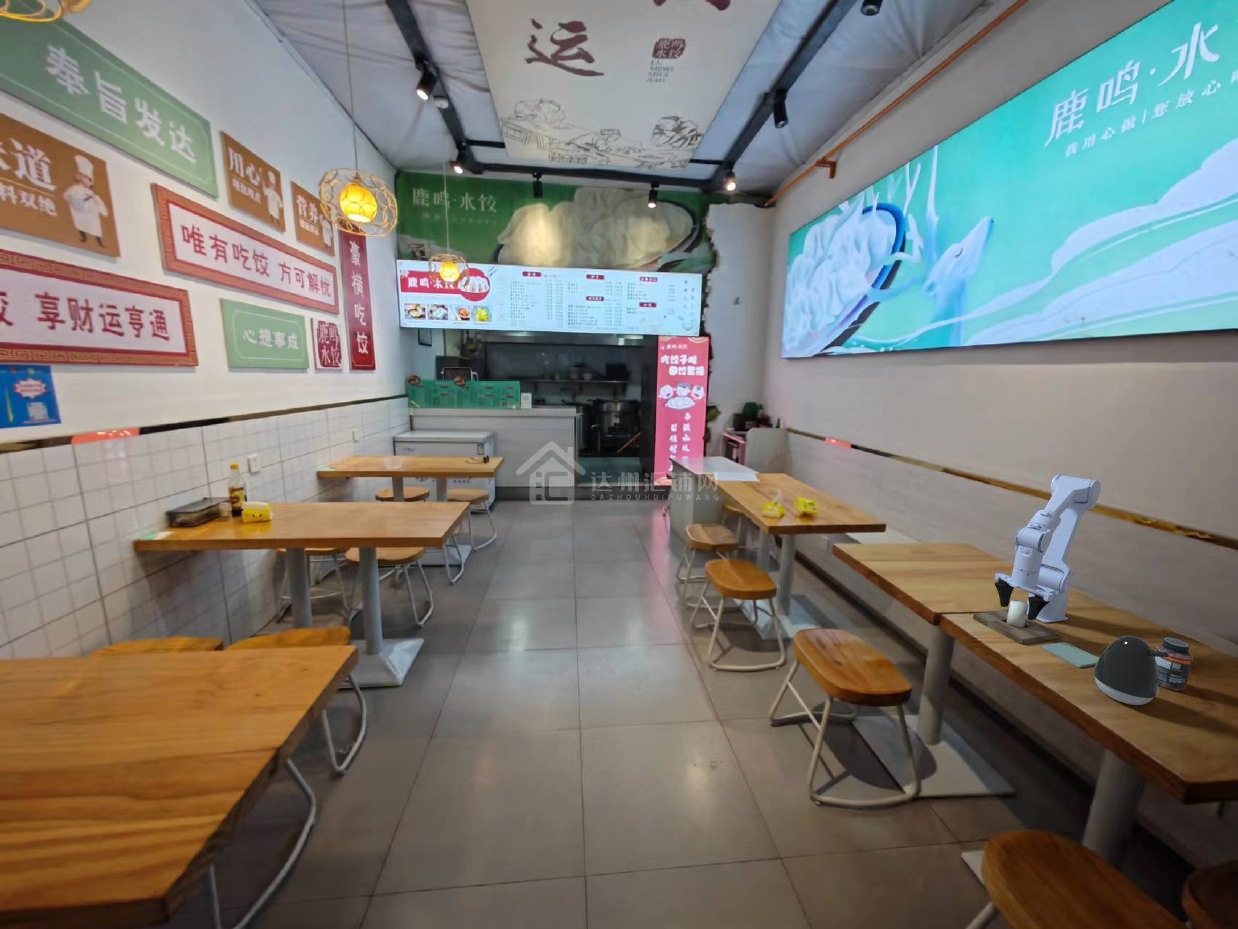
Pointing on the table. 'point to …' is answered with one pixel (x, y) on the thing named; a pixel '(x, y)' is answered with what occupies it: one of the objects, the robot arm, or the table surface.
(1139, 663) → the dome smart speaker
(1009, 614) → the white cylinder
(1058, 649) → the rubber mat
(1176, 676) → the supplement bottle
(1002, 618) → the socket board
